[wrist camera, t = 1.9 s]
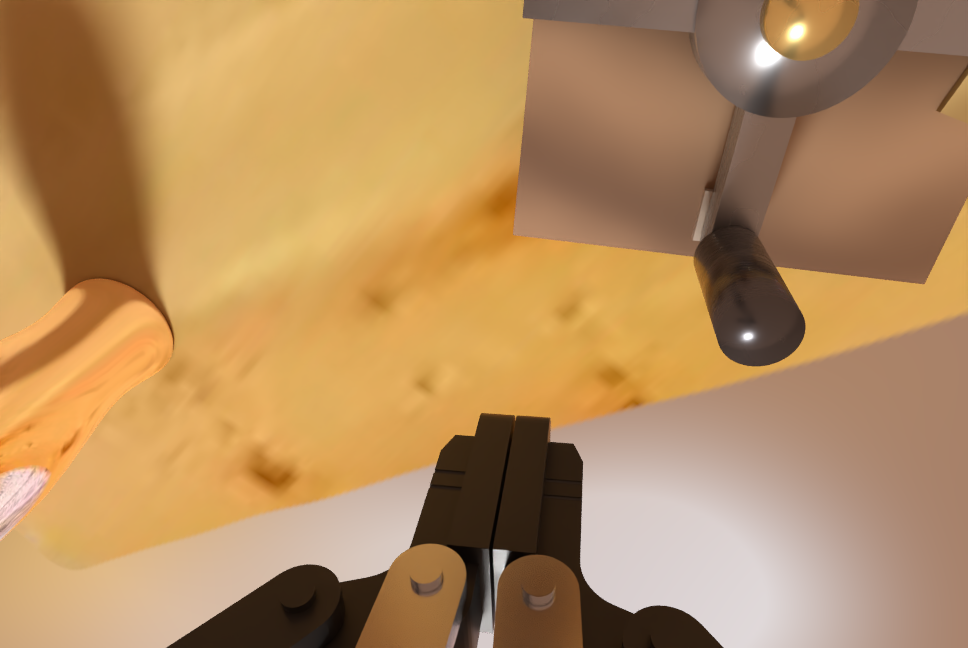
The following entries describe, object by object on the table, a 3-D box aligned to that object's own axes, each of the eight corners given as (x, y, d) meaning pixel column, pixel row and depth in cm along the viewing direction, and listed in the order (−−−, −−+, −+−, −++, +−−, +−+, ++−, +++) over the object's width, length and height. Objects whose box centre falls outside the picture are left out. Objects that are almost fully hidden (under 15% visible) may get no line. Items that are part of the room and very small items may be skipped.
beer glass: (84, 243, 31) (-260, 443, 19) (203, 328, 33) (-41, 564, 20) (43, 326, 35) (-274, 543, 22) (152, 399, 36) (-84, 640, 24)
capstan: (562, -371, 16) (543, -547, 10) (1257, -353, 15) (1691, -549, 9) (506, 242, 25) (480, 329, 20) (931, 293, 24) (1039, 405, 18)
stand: (565, -376, 18) (561, -416, 16) (1199, -360, 16) (1281, -401, 14) (510, 216, 27) (504, 236, 25) (908, 262, 26) (934, 288, 24)
